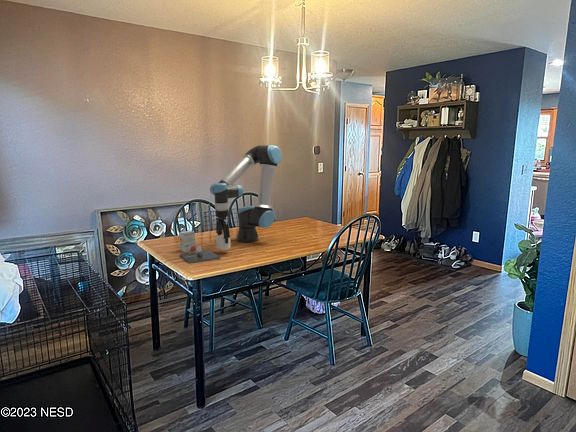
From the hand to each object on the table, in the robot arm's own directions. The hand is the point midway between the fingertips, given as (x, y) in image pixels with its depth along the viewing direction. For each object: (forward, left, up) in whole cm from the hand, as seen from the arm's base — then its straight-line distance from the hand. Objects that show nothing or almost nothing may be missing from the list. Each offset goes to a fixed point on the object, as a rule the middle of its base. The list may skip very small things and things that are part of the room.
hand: (223, 246), depth 235 cm
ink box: (+17, -17, -4) cm, 24 cm away
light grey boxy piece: (0, 0, 0) cm, 0 cm away
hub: (+16, +2, -4) cm, 16 cm away
